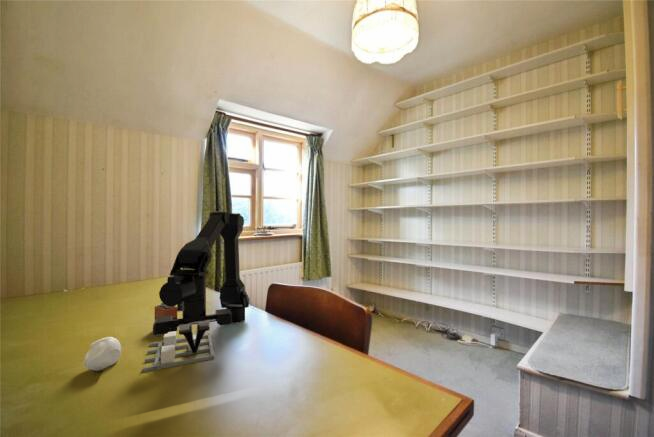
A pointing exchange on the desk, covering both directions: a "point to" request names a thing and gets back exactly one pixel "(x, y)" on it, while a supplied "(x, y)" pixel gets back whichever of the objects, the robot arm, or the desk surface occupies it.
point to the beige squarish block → (194, 343)
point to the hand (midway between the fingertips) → (194, 352)
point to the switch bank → (178, 354)
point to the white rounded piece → (103, 353)
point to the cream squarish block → (170, 338)
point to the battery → (166, 313)
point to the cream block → (168, 354)
